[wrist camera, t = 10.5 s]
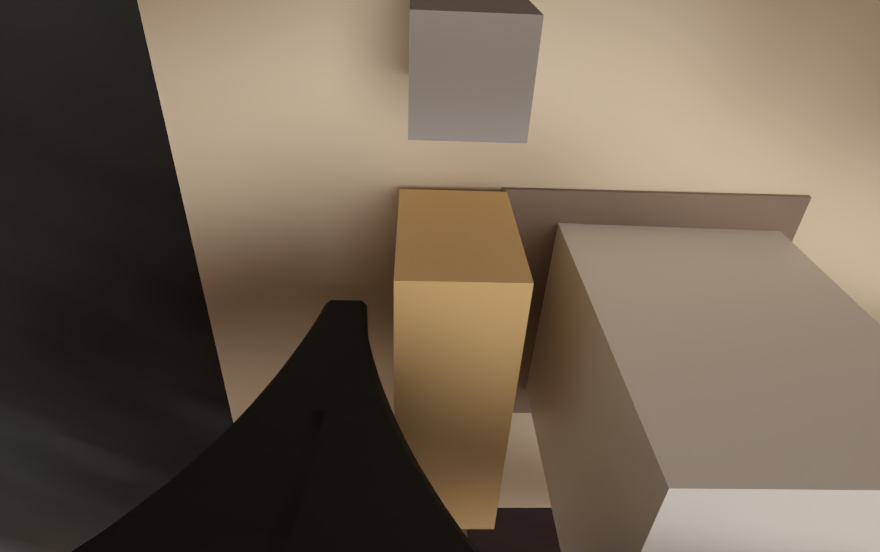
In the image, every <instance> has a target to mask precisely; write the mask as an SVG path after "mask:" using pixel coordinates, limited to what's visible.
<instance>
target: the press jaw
mask: <svg viewBox="0 0 880 552" xmlns="http://www.w3.org/2000/svg"><path fill="white" fill-rule="evenodd" d="M533 285H534V282H533V279H532V275H531V272H530V268H529V265H528V262H527V258H526V255H525V251H524V248H523V245H522V241H521V238H520V234H519V231H518V227H517V224H516V221H515V217H514V214H513V210H512V207H511V204H510V200H509V197H508V193H507V192H496V191H457V190H418V189H399V204H398V220H397V235H396V251H395V267H394V416H395V418H396V421H397V423H398V425H399V427H400V429H401V431H402V433H403V435H404V437H405V439H406V441H407V443H408V445H409V447H410V449H411V451H412V453H413V454H414V456H415V458H416V460H417V462H418V464H419V465H420V467H421V469H422V470H423V472H424V474H425V475H426V477H427V478H428V480H429V482H430V483H431V485H432V486H433V488H434V490H435V491H436V493H437V494H438V496H439V497H440V499H441V501H442V502H443V504H444V505H445V507H446V508H447V510H448V511H449V513H450V514H451V515H452V517H453V518H454V520H455V521H456V523H457V524H458V525H459V527H460V528H461V529H494V526H495V520H496V514H497V508H498V501H499V495H500V489H501V483H502V477H503V470H504V464H505V458H506V452H507V446H508V440H509V433H510V427H511V421H512V415H513V409H514V403H515V396H516V390H517V384H518V378H519V372H520V365H521V359H522V353H523V347H524V341H525V335H526V328H527V322H528V316H529V310H530V304H531V298H532V291H533Z"/></svg>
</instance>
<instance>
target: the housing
mask: <svg viewBox="0 0 880 552" xmlns="http://www.w3.org/2000/svg"><path fill="white" fill-rule="evenodd" d="M526 391H527V396H528V401H529V405H530V410H531V415H532V419H533V424H534V428H535V433H536V438H537V442H538V447H539V452H540V456H541V461H542V466H543V470H544V475H545V480H546V484H547V489H548V494H549V498H550V503H551V508H552V512H553V517H554V522H555V526H556V531H557V535H558V540H559V545H560V549H561V552H880V325H879V324H878V323H877V322H876V321H875V320H874V319H873V318H872V317H871V316H870V315H869V314H868V313H867V312H866V311H864V310H863V309H862V308H861V307H860V306H859V305H858V304H857V303H856V302H855V301H854V300H853V299H852V298H851V297H850V296H849V295H848V294H847V293H845V292H844V291H843V290H842V289H841V288H840V287H839V286H838V285H837V284H836V283H835V282H834V281H833V280H832V279H831V278H830V277H829V276H827V275H826V274H825V273H824V272H823V271H822V270H821V269H820V268H819V267H818V266H817V265H816V264H815V263H814V262H813V261H812V260H811V259H809V258H808V257H807V256H806V255H805V254H804V253H803V252H802V251H801V250H800V249H799V248H798V247H797V246H796V245H795V244H794V243H793V242H791V241H790V240H789V239H788V238H787V237H786V236H785V235H784V234H783V233H782V232H781V231H766V230H737V229H709V228H681V227H652V226H624V225H596V224H568V223H558V227H557V232H556V237H555V242H554V247H553V253H552V258H551V263H550V268H549V273H548V278H547V284H546V289H545V294H544V299H543V304H542V309H541V315H540V320H539V325H538V330H537V335H536V340H535V346H534V351H533V356H532V361H531V366H530V371H529V377H528V382H527V387H526Z"/></svg>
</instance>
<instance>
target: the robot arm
mask: <svg viewBox="0 0 880 552" xmlns="http://www.w3.org/2000/svg"><path fill="white" fill-rule="evenodd" d="M72 552H478V551H477V549H476V548H475V547H474V545H473V544H472V543H471V542H470V540H469V539H468V538H467V536H466V535H465V534H464V532H463V531H462V530H461V528H460V527H459V525H458V524H457V523H456V521H455V520H454V518H453V517H452V515H451V514H450V513H449V511H448V510H447V508H446V507H445V505H444V504H443V502H442V501H441V499H440V497H439V496H438V494H437V493H436V491H435V490H434V488H433V486H432V485H431V483H430V482H429V480H428V478H427V477H426V475H425V474H424V472H423V470H422V469H421V467H420V465H419V464H418V462H417V460H416V458H415V456H414V454H413V453H412V451H411V449H410V447H409V445H408V443H407V441H406V439H405V437H404V435H403V433H402V431H401V429H400V427H399V425H398V423H397V421H396V418H395V416H394V414H393V411H392V409H391V407H390V404H389V402H388V399H387V397H386V394H385V392H384V389H383V386H382V384H381V381H380V378H379V375H378V371H377V368H376V365H375V362H374V358H373V355H372V351H371V347H370V342H369V337H368V316H367V305H366V304H365V303H364V302H363V301H362V300H330V301H329V302H328V303H326V304H325V306H324V307H323V309H322V311H321V313H320V314H319V316H318V318H317V319H316V321H315V322H314V324H313V325H312V327H311V329H310V330H309V332H308V333H307V334H306V336H305V337H304V339H303V340H302V342H301V343H300V345H299V346H298V347H297V349H296V350H295V351H294V353H293V354H292V355H291V357H290V358H289V359H288V361H287V362H286V363H285V365H284V366H283V367H282V368H281V370H280V371H279V372H278V374H277V375H276V376H275V377H274V378H273V379H272V381H271V382H270V383H269V384H268V385H267V387H266V388H265V389H264V390H263V391H262V392H261V394H260V395H259V396H258V397H257V398H256V399H255V401H254V402H253V403H252V404H251V405H250V406H249V407H248V408H247V409H246V410H245V411H244V413H243V414H242V415H241V416H240V417H239V418H238V419H237V420H236V421H235V422H234V423H233V424H232V425H231V426H230V427H229V428H228V429H227V430H226V431H225V432H224V433H223V434H222V435H221V436H220V437H219V438H218V439H217V440H216V441H215V442H214V443H212V444H211V445H210V446H209V447H208V448H207V449H206V450H205V451H204V452H202V453H201V454H200V455H199V456H198V457H197V458H196V459H195V460H193V461H192V462H191V463H190V464H189V465H188V466H187V467H186V468H185V469H183V470H182V471H181V472H180V473H179V474H177V475H176V476H175V477H174V478H173V479H171V480H170V481H169V482H168V483H166V484H165V485H164V486H163V487H161V488H160V489H159V490H157V491H156V492H155V493H154V494H152V495H151V496H150V497H148V498H147V499H146V500H144V501H143V502H142V503H140V504H139V505H138V506H136V507H135V508H134V509H132V510H131V511H130V512H128V513H127V514H126V515H125V516H123V517H122V518H121V519H119V520H118V521H116V522H115V523H114V524H112V525H111V526H109V527H108V528H107V529H105V530H104V531H102V532H101V533H99V534H98V535H96V536H95V537H93V538H92V539H90V540H89V541H87V542H86V543H84V544H83V545H81V546H79V547H78V548H76V549H75V550H73V551H72Z"/></svg>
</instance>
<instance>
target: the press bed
mask: <svg viewBox="0 0 880 552" xmlns="http://www.w3.org/2000/svg"><path fill="white" fill-rule="evenodd" d="M137 2H138V6H139V11H140V15H141V19H142V24H143V28H144V33H145V37H146V41H147V46H148V50H149V55H150V59H151V63H152V68H153V72H154V76H155V81H156V85H157V90H158V94H159V98H160V103H161V107H162V112H163V116H164V120H165V125H166V129H167V134H168V138H169V142H170V147H171V151H172V156H173V160H174V164H175V169H176V173H177V177H178V182H179V186H180V191H181V195H182V199H183V204H184V208H185V213H186V217H187V221H188V226H189V230H190V235H191V239H192V243H193V248H194V252H195V256H196V261H197V265H198V270H199V274H200V278H201V283H202V287H203V292H204V296H205V300H206V305H207V309H208V314H209V318H210V322H211V327H212V331H213V336H214V340H215V344H216V349H217V353H218V357H219V362H220V366H221V371H222V375H223V379H224V384H225V388H226V393H227V397H228V401H229V406H230V410H231V415H232V419H233V423H234V422H235V421H236V420H237V419H238V418H239V417H240V416H241V415H242V414H243V413H244V411H245V410H246V409H247V408H248V407H249V406H250V405H251V404H252V403H253V402H254V401H255V399H256V398H257V397H258V396H259V395H260V394H261V392H262V391H263V390H264V389H265V388H266V387H267V385H268V384H269V383H270V382H271V381H272V379H273V378H274V377H275V376H276V375H277V374H278V372H279V371H280V370H281V368H282V367H283V366H284V365H285V363H286V362H287V361H288V359H289V358H290V357H291V355H292V354H293V353H294V351H295V350H296V349H297V347H298V346H299V345H300V343H301V342H302V340H303V339H304V337H305V336H306V334H307V333H308V332H309V330H310V329H311V327H312V325H313V324H314V322H315V321H316V319H317V318H318V316H319V314H320V313H321V311H322V309H323V307H324V306H325V304H326V303H328V302H329V301H330V300H362V301H363V302H364V303H365V304H366V305H367V316H368V337H369V342H370V347H371V351H372V355H373V358H374V362H375V365H376V368H377V371H378V375H379V378H380V381H381V384H382V386H383V389H384V392H385V394H386V397H387V399H388V402H389V404H390V407H391V409H392V411H393V414H394V267H395V251H396V235H397V220H398V204H399V189H418V190H457V191H496V192H507V193H508V197H509V200H510V204H511V207H512V210H513V214H514V217H515V221H516V224H517V227H518V231H519V234H520V238H521V241H522V245H523V248H524V251H525V255H526V258H527V262H528V265H529V268H530V272H531V275H532V279H533V282H534V285H533V291H532V298H531V304H530V310H529V316H528V322H527V328H526V335H525V341H524V347H523V353H522V359H521V365H520V372H519V378H518V384H517V390H516V396H515V403H514V409H513V415H512V421H511V427H510V433H509V440H508V446H507V452H506V458H505V464H504V470H503V477H502V483H501V489H500V495H499V501H498V508H551V503H550V498H549V494H548V489H547V484H546V480H545V475H544V470H543V466H542V461H541V456H540V452H539V447H538V442H537V438H536V433H535V428H534V424H533V419H532V415H531V410H530V405H529V401H528V396H527V391H526V387H527V382H528V377H529V371H530V366H531V361H532V356H533V351H534V346H535V340H536V335H537V330H538V325H539V320H540V315H541V309H542V304H543V299H544V294H545V289H546V284H547V278H548V273H549V268H550V263H551V258H552V253H553V247H554V242H555V237H556V232H557V227H558V223H568V224H596V225H624V226H652V227H681V228H709V229H737V230H766V231H781V232H782V233H783V234H784V235H785V236H786V237H787V238H788V239H789V240H790V241H791V242H793V243H794V244H795V245H796V246H797V247H798V248H799V249H800V250H801V251H802V252H803V253H804V254H805V255H806V256H807V257H808V258H809V259H811V260H812V261H813V262H814V263H815V264H816V265H817V266H818V267H819V268H820V269H821V270H822V271H823V272H824V273H825V274H826V275H827V276H829V277H830V278H831V279H832V280H833V281H834V282H835V283H836V284H837V285H838V286H839V287H840V288H841V289H842V290H843V291H844V292H845V293H847V294H848V295H849V296H850V297H851V298H852V299H853V300H854V301H855V302H856V303H857V304H858V305H859V306H860V307H861V308H862V309H863V310H864V311H866V312H867V313H868V314H869V315H870V316H871V317H872V318H873V319H874V320H875V321H876V322H877V323H878V324H879V325H880V0H137ZM461 530H462V531H463V532H464V534H465V535H466V536H467V529H461Z"/></svg>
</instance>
